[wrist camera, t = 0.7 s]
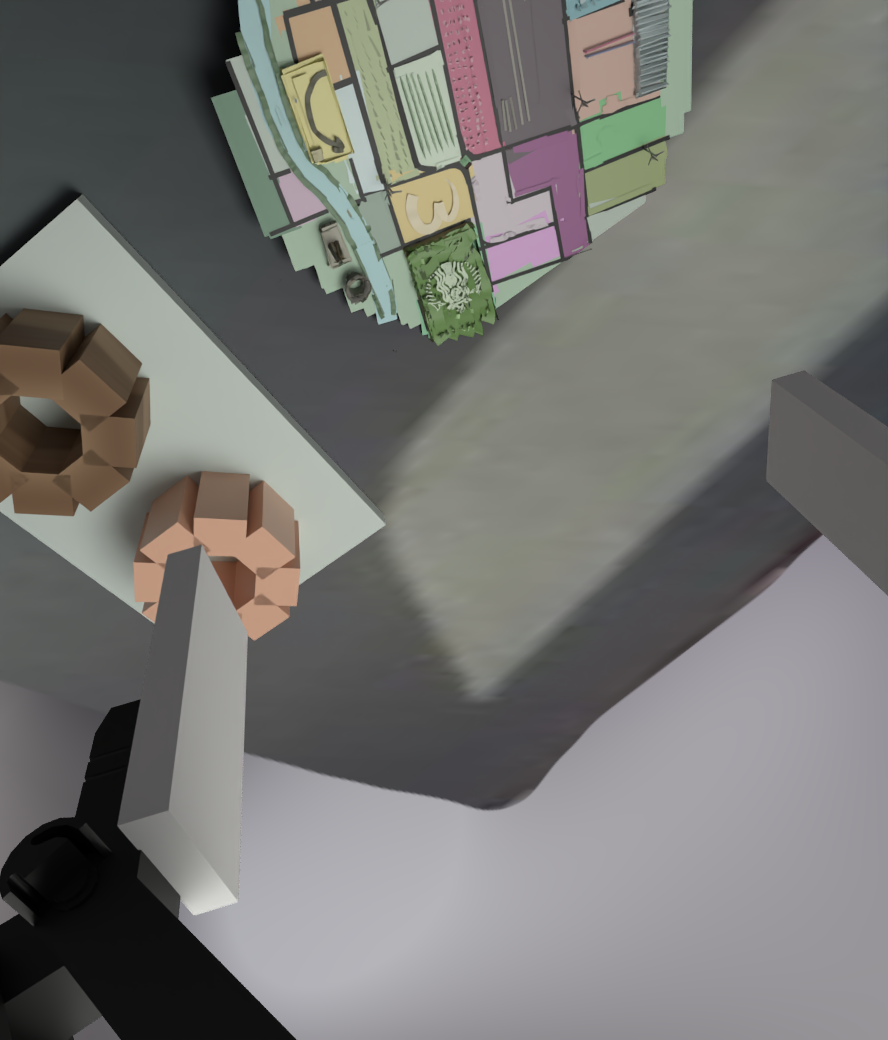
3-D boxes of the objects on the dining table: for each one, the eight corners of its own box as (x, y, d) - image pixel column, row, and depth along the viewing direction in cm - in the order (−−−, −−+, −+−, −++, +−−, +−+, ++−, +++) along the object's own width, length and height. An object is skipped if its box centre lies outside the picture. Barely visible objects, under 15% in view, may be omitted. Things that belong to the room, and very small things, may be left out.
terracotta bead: (114, 529, 44) (97, 581, 40) (227, 445, 43) (221, 489, 38) (220, 613, 49) (215, 667, 45) (325, 540, 47) (330, 588, 43)
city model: (405, 410, 47) (429, 462, 43) (82, 76, 33) (67, 101, 28) (741, 134, 42) (810, 159, 38) (540, -407, 28) (613, -473, 23)
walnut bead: (-74, 381, 38) (-117, 424, 34) (50, 274, 36) (21, 306, 32) (70, 494, 42) (47, 544, 38) (185, 404, 41) (175, 446, 37)
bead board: (-142, 391, 38) (-153, 400, 37) (82, 194, 36) (76, 198, 35) (199, 643, 51) (197, 655, 50) (383, 514, 48) (385, 524, 48)
